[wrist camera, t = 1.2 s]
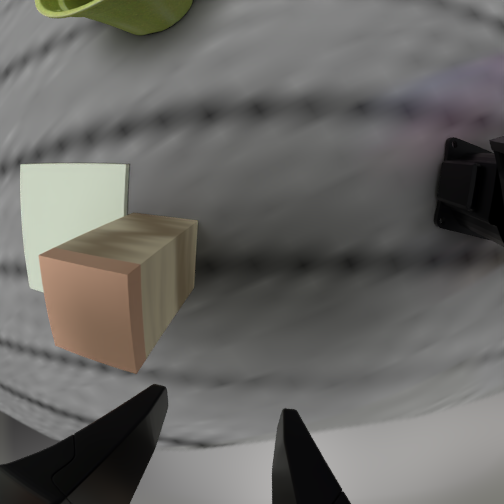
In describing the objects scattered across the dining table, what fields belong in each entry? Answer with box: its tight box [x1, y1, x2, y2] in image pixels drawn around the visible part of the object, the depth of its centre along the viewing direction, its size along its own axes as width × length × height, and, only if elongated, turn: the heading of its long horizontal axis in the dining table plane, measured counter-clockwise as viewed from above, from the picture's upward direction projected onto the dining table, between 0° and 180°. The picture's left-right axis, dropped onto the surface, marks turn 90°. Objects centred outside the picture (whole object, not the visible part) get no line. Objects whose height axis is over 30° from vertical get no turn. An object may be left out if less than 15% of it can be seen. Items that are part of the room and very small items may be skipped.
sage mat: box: [20, 163, 129, 293], centre depth 21 cm, size 12×12×1 cm
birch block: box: [39, 213, 198, 374], centre depth 16 cm, size 5×5×10 cm
